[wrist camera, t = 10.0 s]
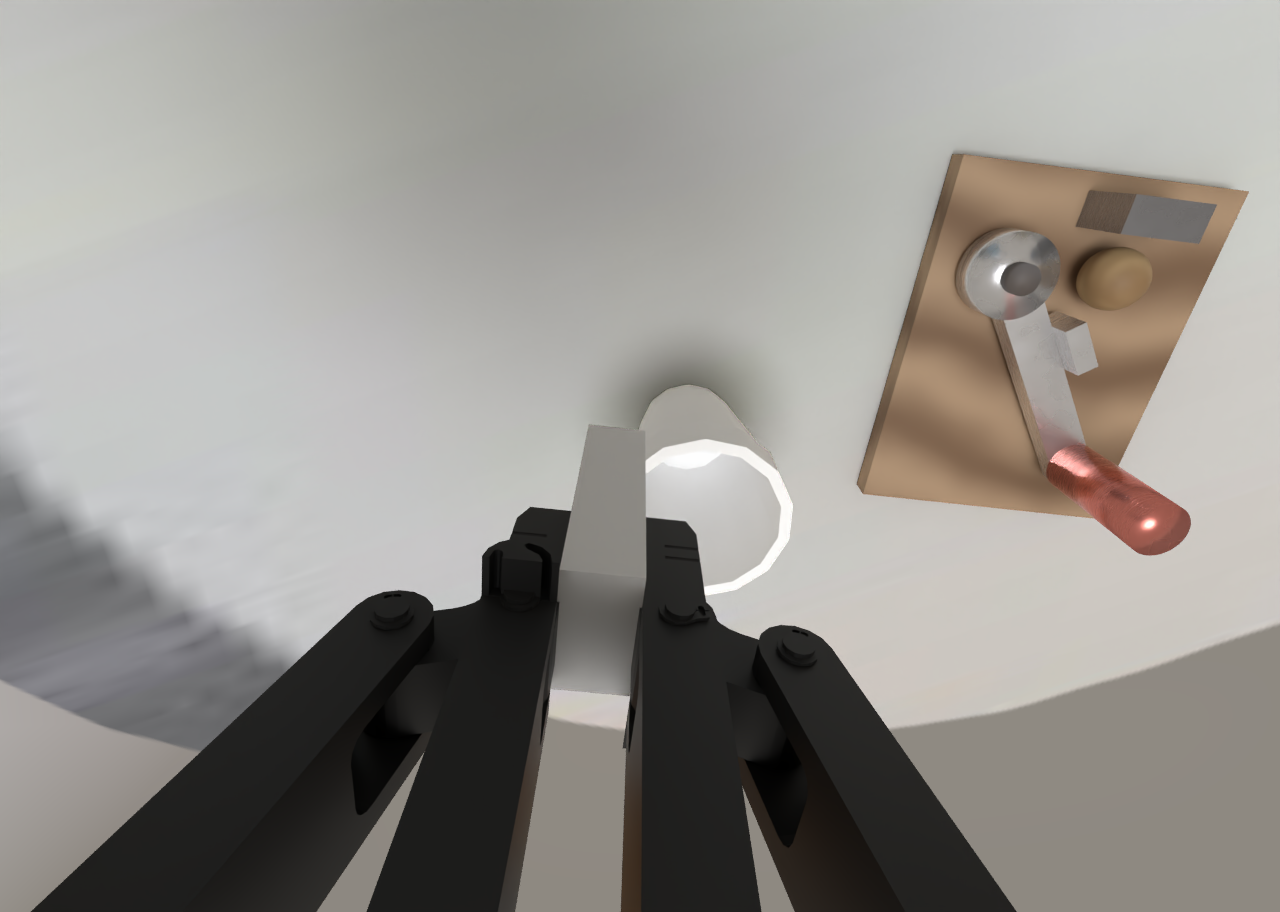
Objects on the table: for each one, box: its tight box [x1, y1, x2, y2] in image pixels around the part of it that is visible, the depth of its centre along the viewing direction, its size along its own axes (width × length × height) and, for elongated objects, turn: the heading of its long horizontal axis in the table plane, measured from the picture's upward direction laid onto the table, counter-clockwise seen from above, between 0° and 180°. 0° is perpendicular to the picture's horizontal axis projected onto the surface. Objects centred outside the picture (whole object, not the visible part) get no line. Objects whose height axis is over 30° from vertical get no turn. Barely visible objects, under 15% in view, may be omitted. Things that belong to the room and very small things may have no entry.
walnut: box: [1076, 247, 1152, 311], centre depth 38 cm, size 4×4×4 cm
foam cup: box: [638, 384, 793, 595], centre depth 39 cm, size 10×9×13 cm
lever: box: [956, 228, 1191, 555], centre depth 37 cm, size 18×5×10 cm, turn 29°
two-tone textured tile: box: [1075, 190, 1217, 244], centre depth 36 cm, size 2×4×4 cm, turn 83°
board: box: [857, 154, 1249, 518], centre depth 41 cm, size 22×17×5 cm
